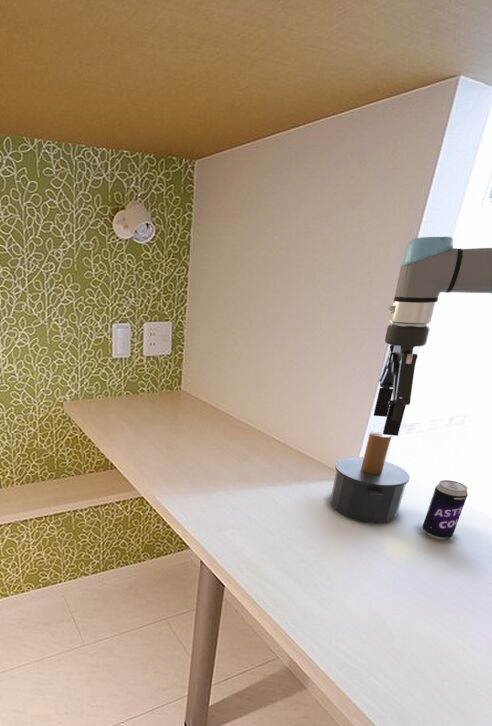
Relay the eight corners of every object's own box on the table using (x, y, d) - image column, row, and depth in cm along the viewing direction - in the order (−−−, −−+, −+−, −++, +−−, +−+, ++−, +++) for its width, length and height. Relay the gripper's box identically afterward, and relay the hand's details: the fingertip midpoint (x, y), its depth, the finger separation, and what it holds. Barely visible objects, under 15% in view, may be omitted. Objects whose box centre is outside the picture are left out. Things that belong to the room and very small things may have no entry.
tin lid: (400, 466, 106) (412, 426, 102) (415, 494, 93) (428, 450, 89) (332, 458, 111) (340, 420, 106) (336, 484, 97) (346, 441, 93)
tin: (388, 494, 112) (397, 460, 108) (404, 534, 95) (416, 496, 91) (328, 485, 116) (334, 453, 112) (332, 523, 99) (341, 486, 95)
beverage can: (423, 537, 94) (440, 488, 89) (419, 524, 99) (434, 477, 94) (454, 543, 92) (473, 493, 87) (448, 530, 97) (465, 481, 92)
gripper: (379, 317, 99) (359, 407, 108) (400, 331, 78) (374, 441, 87) (416, 318, 97) (393, 410, 106) (448, 332, 76) (416, 445, 85)
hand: (384, 424), depth 97 cm, fingers open, 13 cm apart
